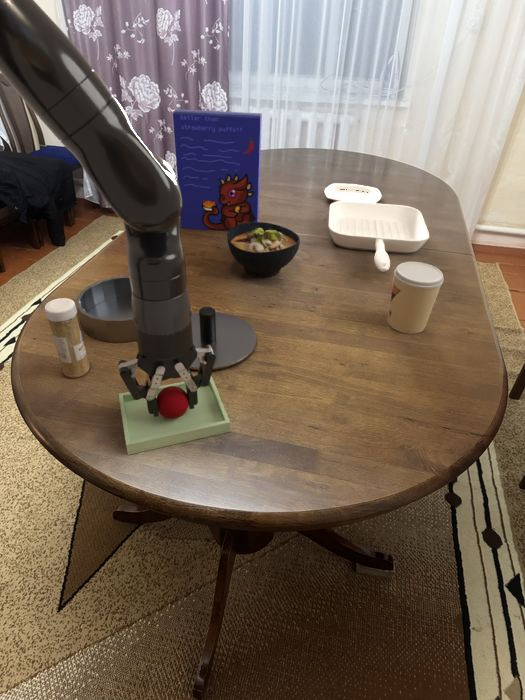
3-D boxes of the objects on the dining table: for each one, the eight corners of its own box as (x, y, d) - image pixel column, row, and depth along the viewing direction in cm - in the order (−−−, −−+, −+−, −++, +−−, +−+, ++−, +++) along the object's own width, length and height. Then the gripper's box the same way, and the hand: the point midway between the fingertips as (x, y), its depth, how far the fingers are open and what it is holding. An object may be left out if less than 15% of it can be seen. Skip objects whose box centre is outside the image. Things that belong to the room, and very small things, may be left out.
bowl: (263, 294, 105) (265, 253, 99) (213, 268, 114) (212, 229, 108) (311, 270, 115) (315, 232, 109) (261, 248, 124) (262, 212, 118)
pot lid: (169, 381, 80) (165, 348, 76) (152, 324, 94) (149, 293, 89) (269, 362, 85) (271, 330, 81) (240, 310, 99) (240, 281, 95)
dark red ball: (160, 428, 70) (157, 404, 67) (155, 406, 74) (151, 382, 71) (193, 421, 72) (191, 397, 69) (186, 400, 75) (184, 376, 72)
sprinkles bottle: (94, 372, 81) (78, 306, 73) (67, 382, 79) (48, 314, 71) (85, 359, 84) (69, 294, 76) (59, 367, 82) (40, 301, 74)
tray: (128, 455, 67) (125, 445, 65) (120, 403, 75) (118, 393, 74) (230, 431, 71) (230, 422, 70) (212, 385, 79) (211, 376, 78)
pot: (83, 349, 86) (77, 326, 83) (80, 302, 99) (75, 281, 96) (176, 334, 91) (174, 312, 88) (162, 291, 104) (160, 271, 101)
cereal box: (258, 224, 137) (261, 112, 120) (256, 232, 133) (260, 116, 115) (185, 220, 138) (177, 108, 120) (181, 228, 133) (172, 112, 115)
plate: (379, 211, 150) (380, 205, 149) (320, 204, 153) (321, 198, 152) (381, 192, 165) (382, 187, 164) (327, 186, 168) (328, 181, 167)
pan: (415, 221, 144) (419, 206, 141) (438, 289, 109) (444, 271, 107) (328, 213, 146) (330, 198, 144) (323, 278, 112) (326, 260, 109)
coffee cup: (390, 307, 102) (401, 256, 95) (433, 319, 99) (448, 267, 92) (377, 327, 95) (389, 275, 88) (423, 341, 92) (439, 287, 85)
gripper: (208, 295, 67) (212, 385, 77) (104, 310, 63) (123, 402, 73) (222, 323, 61) (224, 416, 71) (109, 341, 57) (128, 437, 67)
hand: (173, 408), depth 72 cm, fingers closed on dark red ball, 5 cm apart
